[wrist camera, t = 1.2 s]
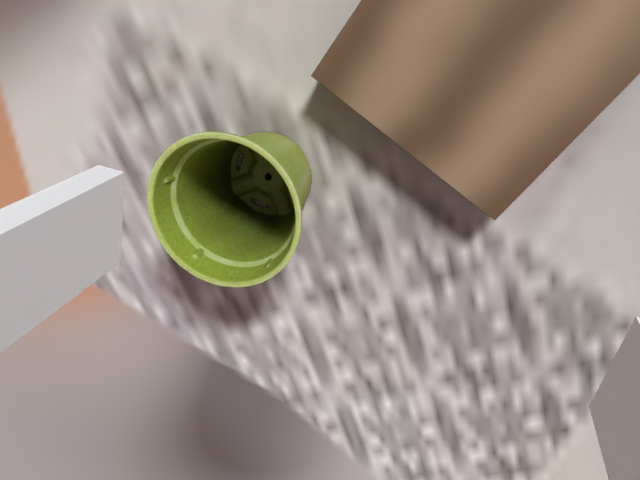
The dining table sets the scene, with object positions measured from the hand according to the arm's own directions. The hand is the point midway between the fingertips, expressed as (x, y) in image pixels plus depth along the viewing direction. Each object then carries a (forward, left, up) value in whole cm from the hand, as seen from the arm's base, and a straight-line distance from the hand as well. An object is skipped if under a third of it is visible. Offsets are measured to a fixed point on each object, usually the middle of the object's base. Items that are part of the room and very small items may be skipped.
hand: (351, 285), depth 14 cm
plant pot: (-6, -10, -24) cm, 27 cm away
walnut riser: (0, +5, -24) cm, 24 cm away
